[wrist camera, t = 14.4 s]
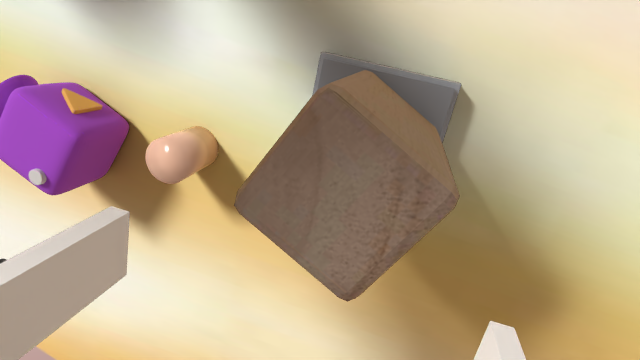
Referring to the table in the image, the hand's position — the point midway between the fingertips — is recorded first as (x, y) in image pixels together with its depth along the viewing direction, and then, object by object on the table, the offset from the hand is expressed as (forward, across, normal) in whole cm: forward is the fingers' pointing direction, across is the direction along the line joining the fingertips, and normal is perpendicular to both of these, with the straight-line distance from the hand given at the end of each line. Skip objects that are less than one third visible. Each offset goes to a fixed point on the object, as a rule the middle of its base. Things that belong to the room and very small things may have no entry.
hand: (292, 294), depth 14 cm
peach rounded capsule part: (+32, -20, -7) cm, 39 cm away
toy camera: (+32, -36, -8) cm, 49 cm away
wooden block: (+29, 0, 0) cm, 29 cm away
